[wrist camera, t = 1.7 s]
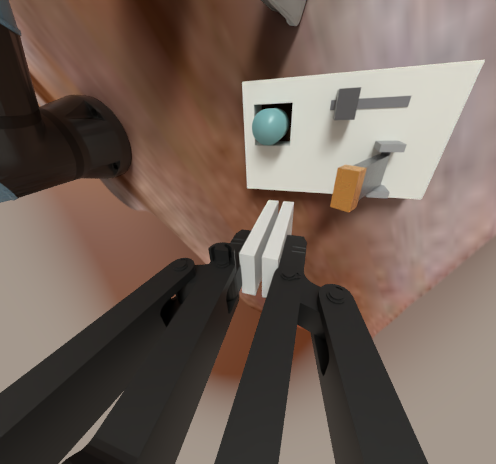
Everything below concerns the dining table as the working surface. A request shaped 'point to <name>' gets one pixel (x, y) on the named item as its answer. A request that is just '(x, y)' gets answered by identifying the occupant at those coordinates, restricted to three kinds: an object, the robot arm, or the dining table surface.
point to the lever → (358, 181)
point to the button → (270, 125)
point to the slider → (346, 103)
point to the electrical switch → (287, 9)
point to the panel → (359, 126)
